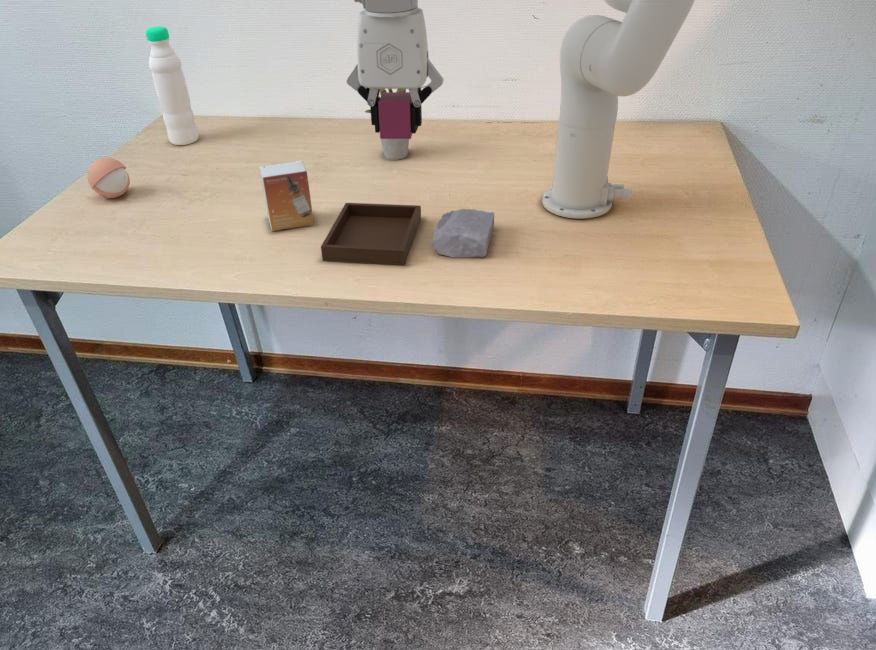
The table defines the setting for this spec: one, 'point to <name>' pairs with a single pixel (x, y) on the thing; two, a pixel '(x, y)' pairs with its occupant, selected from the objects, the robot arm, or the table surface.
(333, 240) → the tray
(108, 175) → the toy ball
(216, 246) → the table surface
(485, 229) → the stone block
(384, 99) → the pink block
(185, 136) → the water bottle
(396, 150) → the house plant
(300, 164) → the small box
